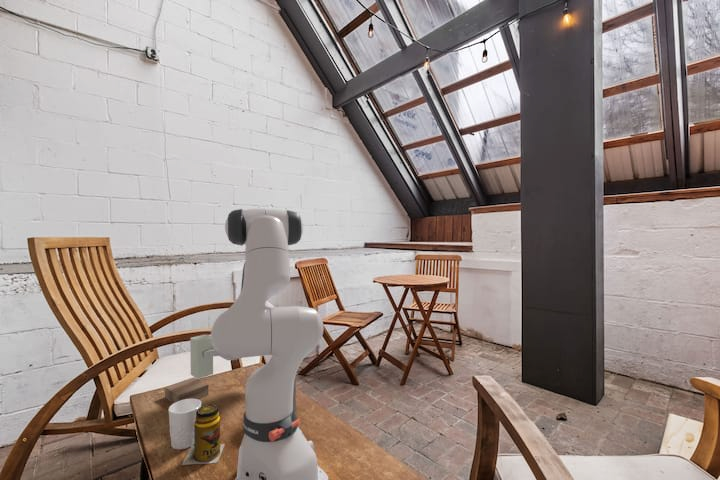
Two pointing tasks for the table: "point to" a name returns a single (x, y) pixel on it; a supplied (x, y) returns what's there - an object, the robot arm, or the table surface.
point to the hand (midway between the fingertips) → (198, 352)
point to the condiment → (205, 437)
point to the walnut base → (186, 390)
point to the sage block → (201, 356)
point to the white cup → (183, 422)
